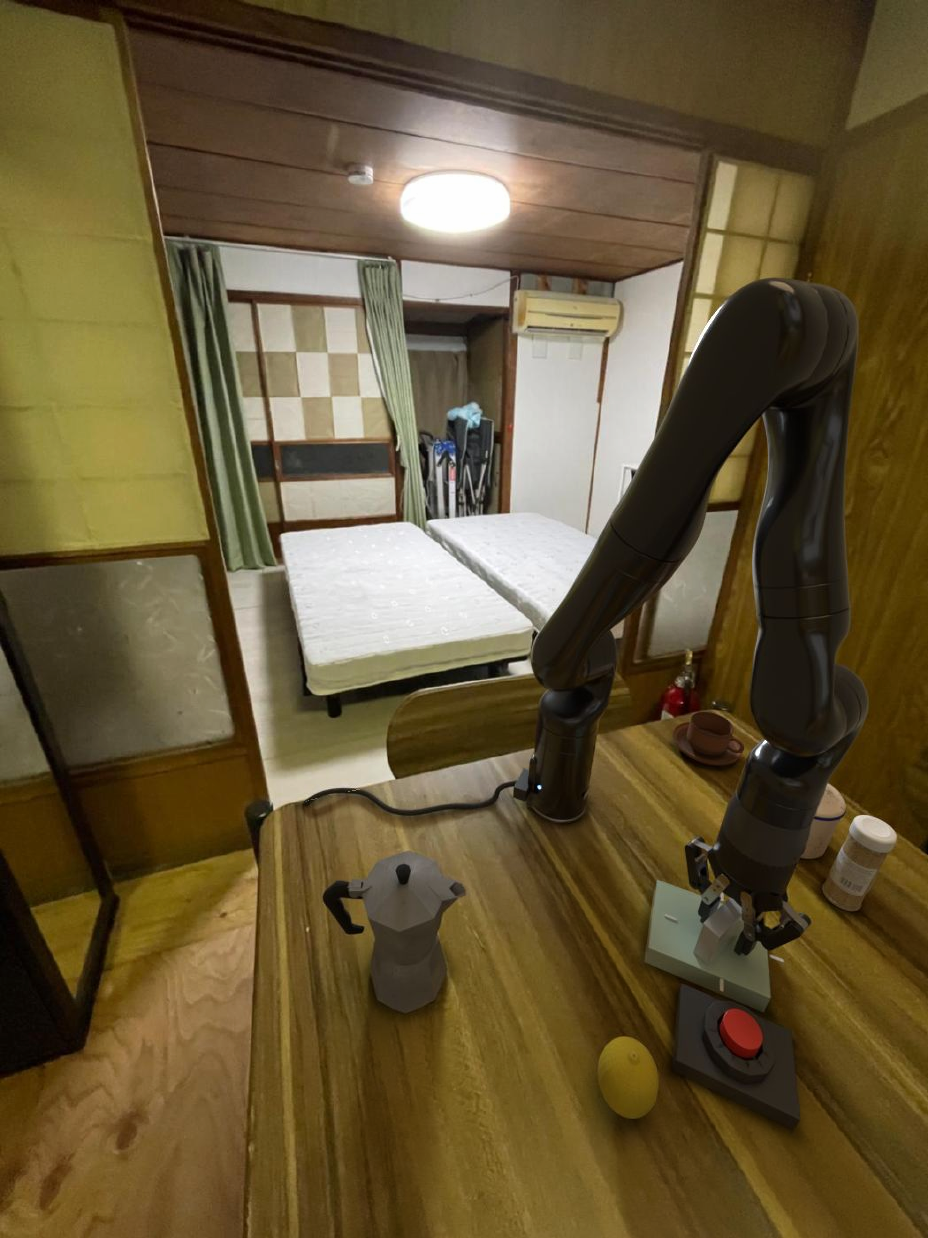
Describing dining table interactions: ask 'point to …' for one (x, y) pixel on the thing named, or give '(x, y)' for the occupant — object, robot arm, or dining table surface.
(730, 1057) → the button block
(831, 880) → the sprinkles bottle
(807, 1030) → the dining table surface
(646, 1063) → the lemon
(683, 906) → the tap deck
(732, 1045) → the tap button
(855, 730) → the robot arm
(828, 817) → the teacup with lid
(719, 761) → the cup and saucer
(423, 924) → the coffeepot
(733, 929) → the gray rectangular block
